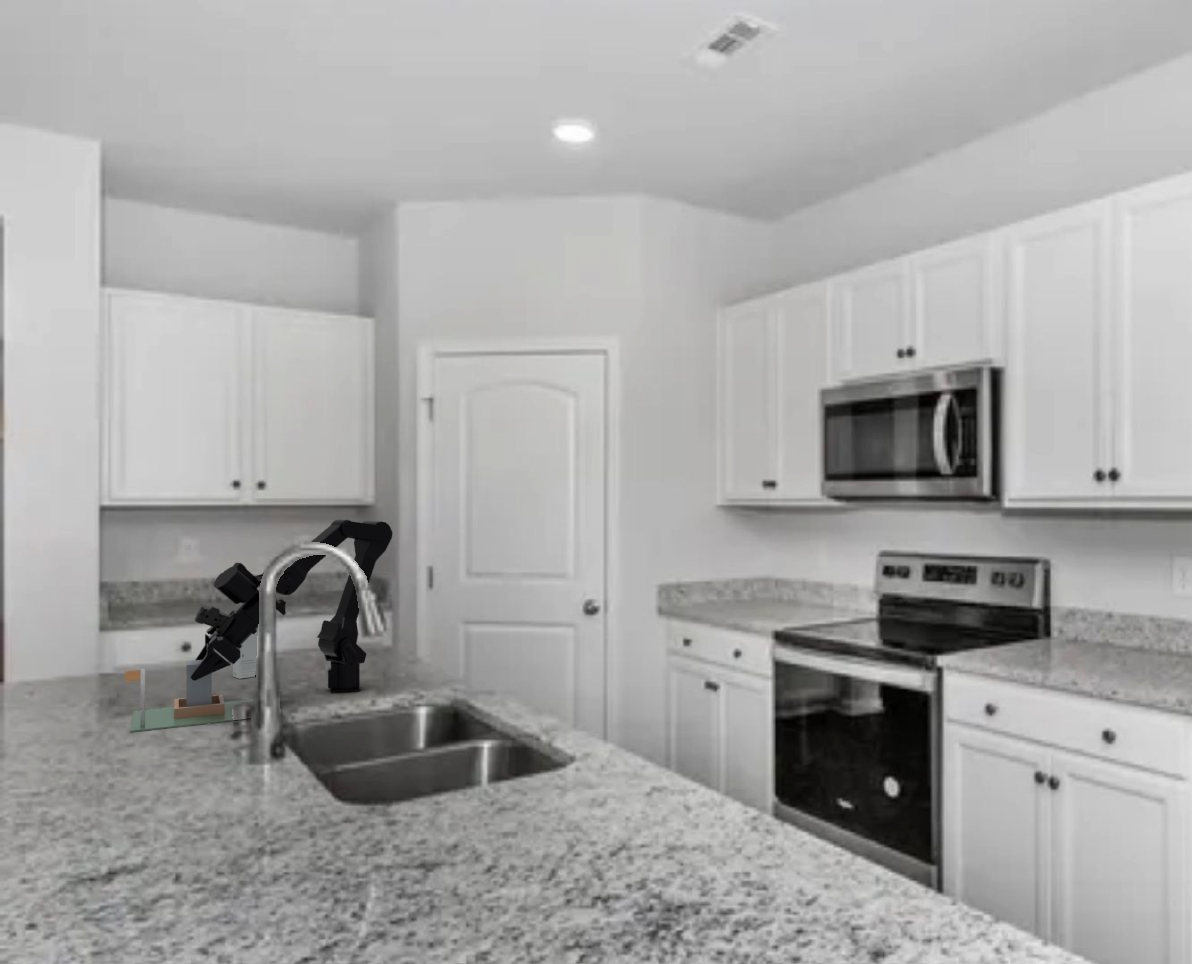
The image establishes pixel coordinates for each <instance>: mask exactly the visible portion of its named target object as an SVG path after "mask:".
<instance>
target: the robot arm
mask: <svg viewBox="0 0 1192 964" xmlns="http://www.w3.org/2000/svg"><path fill="white" fill-rule="evenodd" d="M392 538H393V530H392V528H391V526H390V525H389V523H387V522H386V521H379V520H365V521H362V522H357V521H353V520H349V519H336V520H334V521H333V522H331V524H330V525H329V526H328V527H327V528H326V529H325V530H323V531H322V532H321V533H320V534H318V535H317V536H316V537H315V538H314V539H312V540H311V541H310V542H320V543H326V544H329V545H332V546H334V547H336V548H337V547H339V546H340V545H342V543H343V542H344V541H346V540H348V539H352V540H353V539H354V540H353V545H354V547H353V548H354V551H355V552H354V553H355V555H354V560H355V561H356V562H357V563H358V565H359V567H360V568H361V569H362V570H363V571H364V573H365V575H366V576H367V580H368V583H369V584H370V580H371V578H372V575H373V572H374V569H375V566H376V562H377V561H378V560H379V559H380V557H381V556H382V555H384V553H385V552H386V551H387V549H388V546H389V545H390V543H391V540H392ZM325 557H327V556H326V555H313V556H309V557H306V558H302V559H299V560H297V561H295V562H294V563H293V564H292V565H291V566H290V567H288V568H287V569H286V570H285V571H284V574H283V575H282V576H281V577H280V579H279V581H278V584H277V587H276V594H277V595H280V596H281V595H282V596H289V595H292V594H294V593H295V592H296V591H297V590H298V589H299V588H300V586H301V585H302V584H303V583H304V582H305V581H306V578H307V576H308V573H309V572H310V571H311V570H312V569H313V568H314V567H315V566H317V565H318V564H319V563H320V562H321V561H322V560H323V559H324V558H325ZM354 560H353V561H354ZM263 574H264V572H263V573H261V574H257V575H254V574H253V573H251V571H250V570H248V569H247V567H246V566H245V565H244V564H243V563H242V562H234V564H233V565H232V566H230V567H228V568H227V569H225V570H224V571H223V572H221V573H219V574H218V576H217V577H216V578H215V580H214V583H213V587H214V588H215V589H216V590H218V591H219V592H220V593H221V594H222V595H224V597H226V598H227V599H228V600H230V601H231V602H232V603H234V605H238V604H241V605H240V606H239V607H238V608H237V609H234V610H231V611H230V612H228V613H225V612H223V611H221V610H220V608H217V607H214V606H213V605H212V606H207V605H205V604H200V607H199V609H198V611H197V612H196V615H195V617H194V622H196V623H198V624H201V625H203V624H204V625H207V626H210V627H209V628H207V630H206V633H204V646H203V647H202V649H201V650H200V652H199V654H198V655H197V656H196V658H195V660H202V662H201V663H200V664H199V666H198V667H197V668H196V670H195V671H194V673H193V674H192V675H191V677H190V678H191V679H192V680H193V681H195V680H198V679H200V678H202V677H204V676H206V675H209V674H211V673H212V674H214V673H216V672H217V671H220V670H222V669H225V668H226V667H230V666H231V665H233V664H234V663H235V662H236V661H237V660H238V659H239V658H240V648H241V647H242V644H243V643H244V642H245V641H246V640H247V639H248V638H249V637H250V636H251V635H252V634H253V635H254V634H255V633H256V632H257V629H258V624H259V591H260V589H261V588H260V583H261V579H262V576H263ZM258 588H260V589H258ZM286 605H287V602H286V600H284V599H278V598H276V610H275V611H278V612H279V613H280V614H281V615H282V616H285V615H286V613H287V612H286ZM359 615H360V612H359V608H358V601H357V595H356V590H355V586H354V584H353V581H352V579H351V576H350V575H349V574H348V577H347V580H346V583H345V585H344V589H343V591H342V595H341V598H340V601H339V604H338V607H337V609H336V613H335V615H334V616H333V617H332V618H331V619H330V620H326V619H325V620H323V621H322V623H321V629H320V631H319V634H318V635H317V636H316V638H318V641H317V642H318V643H317V645H318V648H319V650H320V652H321V653H322V654H323V656H324V659H325V661H326V662H330V667H328V668H327V688H328V690H329V689H330V691H329V693H332V694H333V693H344V692H359V691H361V685H360V684H361V683H360V674H361V672H360V667H361V664H364V663H365V662H366V657H367V652H365V650H363V648H362V647H360V645H358V639H359V630H358V629H359V628H358V617H359Z"/></svg>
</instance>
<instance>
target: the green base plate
mask: <svg viewBox="0 0 1192 964" xmlns="http://www.w3.org/2000/svg"><path fill="white" fill-rule="evenodd" d="M138 681H139V682H140V684H139V685H140V687H139V688H140V693H139V694H140V697H139V698H140V701H139V702H140V705H139V707H140V710H134V711H133V714H132V719H131V720H132V721H131V725H130V733H135V732H137V733H138V732H146V731H154V730H155V731H156V730H163V729H164V728H166V729H173V728H172V727H175V728H179V727H178V726H184V727H191V726H201V724H202V725H207V724H208V723H211V724H218V723H217V722H220V723H225V722H224V721H229V722H233V721H232V720H233V718H232V717H233V715H232V709H233V706H234V704H235V703H239V702H251V701H253V699H254V698H251V699H242V700H241V699H240V700H231V701H225V699H224V696H223V694H222V693H220V694H212V704H210V705H201V706H191V707H186V697H180V698H179V697H178V698H174V700H173V706H171V707H170V706H169V707H163V708H151V709H146V669H145V668H140V669H135V670H125V671H124V683H125V682H126V683H127V682H128V683H129V682H138ZM208 725H209V724H208ZM164 730H165V729H164Z"/></svg>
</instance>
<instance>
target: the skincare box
mask: <svg viewBox="0 0 1192 964" xmlns="http://www.w3.org/2000/svg"><path fill="white" fill-rule="evenodd" d="M257 636H258V629H257V632H256V633H255V634H254V635H253V634H252V635H251V636H250V637H249V638H248V639H247V640H246V641H245V642H244V643H243V644H242V647H241V648H240V658H239V659H238V660H237V661H236V662H235V663H234V664H232V676H233V677H234V678H236V679H238V680H240V679H247V678H254V677H255V671H256V656H257ZM255 678H256V677H255Z"/></svg>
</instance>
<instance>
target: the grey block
mask: <svg viewBox="0 0 1192 964" xmlns="http://www.w3.org/2000/svg"><path fill="white" fill-rule="evenodd" d="M201 662H202V660H186V663H185V665H186V667H185V669H186V670H185V671H186V673H185V676H186V678H185V679H186V681H185V684H186V685H185V686H186V687H185V688H186V692H185V693H186V694H185V698H186V707H191V706H201V705H210V704H212V695H213V694H212V693H213V691H212V689H213V684H212V681H213V680H212V679H213V678H212V677H213V673H211V674H209V675H206V676H204V677H202V678H200V679H198V680H195V681H193V680H192V679H191V678H190V677H191V675H192V674H193V673H194V671H195V670H196V668H197V667H198V666H199V664H200V663H201Z"/></svg>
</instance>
